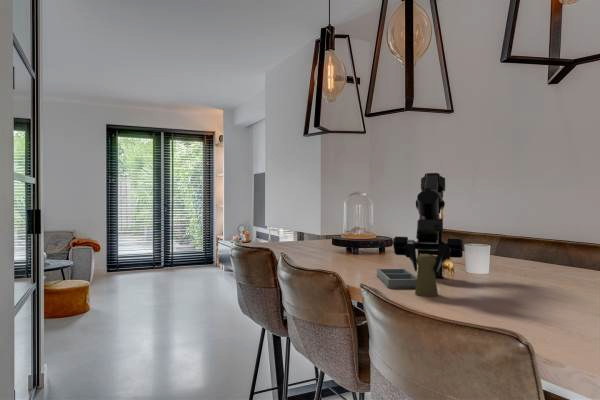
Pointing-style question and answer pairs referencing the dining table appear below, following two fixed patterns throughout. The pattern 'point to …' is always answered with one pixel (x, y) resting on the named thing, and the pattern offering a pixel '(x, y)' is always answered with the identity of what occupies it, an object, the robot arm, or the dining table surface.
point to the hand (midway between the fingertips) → (425, 271)
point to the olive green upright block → (426, 276)
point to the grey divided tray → (397, 278)
